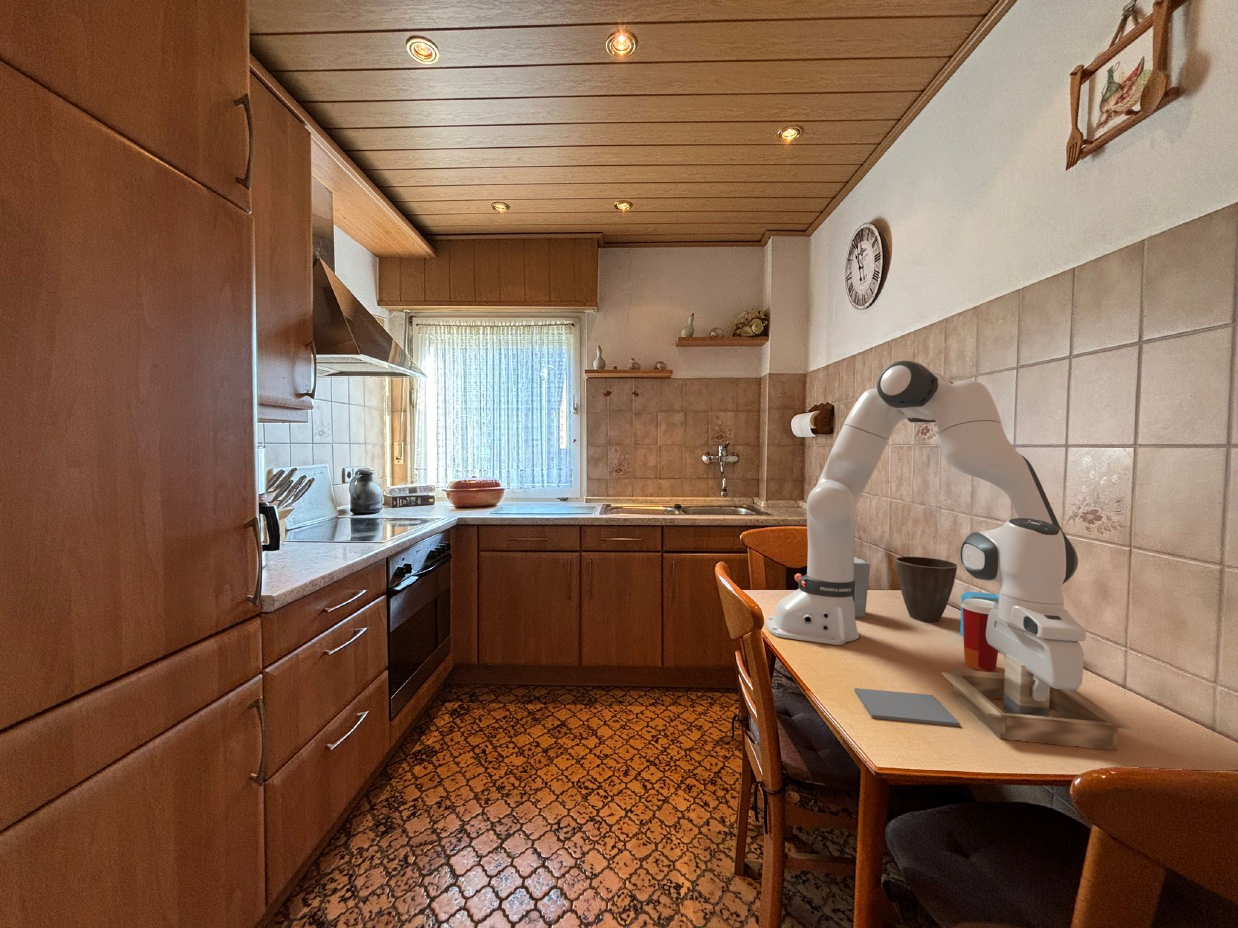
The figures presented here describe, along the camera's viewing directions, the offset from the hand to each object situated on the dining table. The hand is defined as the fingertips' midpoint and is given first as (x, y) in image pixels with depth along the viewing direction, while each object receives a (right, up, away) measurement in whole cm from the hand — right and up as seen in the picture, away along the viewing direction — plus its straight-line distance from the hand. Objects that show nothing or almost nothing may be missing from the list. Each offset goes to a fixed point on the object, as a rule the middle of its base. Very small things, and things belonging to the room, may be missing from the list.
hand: (1026, 690), depth 88 cm
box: (0, -5, 0) cm, 5 cm away
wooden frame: (0, -5, 0) cm, 5 cm away
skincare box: (-5, -4, +58) cm, 58 cm away
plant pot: (+15, -4, +54) cm, 57 cm away
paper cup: (+8, -5, +22) cm, 24 cm away
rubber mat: (-20, -5, +3) cm, 20 cm away
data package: (+20, -5, +35) cm, 41 cm away
